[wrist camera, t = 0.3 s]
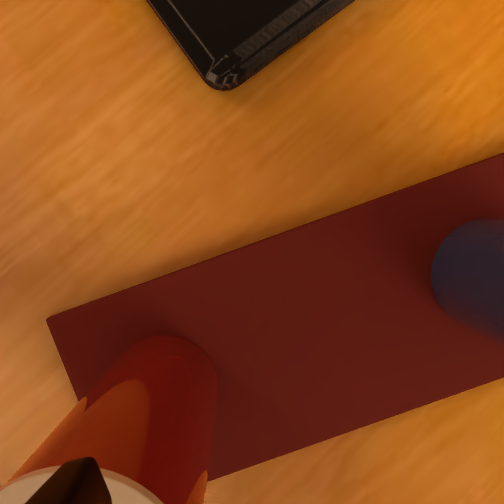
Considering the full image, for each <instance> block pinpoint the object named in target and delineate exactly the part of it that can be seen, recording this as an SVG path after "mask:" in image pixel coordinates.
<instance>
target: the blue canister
mask: <svg viewBox="0 0 504 504" xmlns="http://www.w3.org/2000/svg"><path fill="white" fill-rule="evenodd" d="M431 282H432V288H433V292H434V295H435V298H436V300H437V302H438V303H439V305H440V307H441V308H442V309H443V311H444V312H445V313H446V314H447V315H448V316H449V317H451V318H452V319H453V320H455V321H456V322H458V323H460V324H461V325H463V326H465V327H467V328H469V329H471V330H473V331H475V332H477V333H479V334H481V335H483V336H485V337H486V338H488V339H490V340H492V341H494V342H496V343H498V344H500V345H502V346H504V218H483V219H477V220H473V221H470V222H467V223H465V224H463V225H461V226H459V227H458V228H456V229H455V230H454V231H452V232H451V233H450V234H449V235H448V236H447V237H446V238H445V239H444V241H443V242H442V243H441V245H440V247H439V248H438V250H437V252H436V254H435V257H434V260H433V264H432V269H431Z"/></svg>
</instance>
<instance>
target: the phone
mask: <svg viewBox="0 0 504 504" xmlns="http://www.w3.org/2000/svg"><path fill="white" fill-rule="evenodd" d="M353 1H354V0H147V2H148V3H149V5H150V6H151V7H152V9H153V10H154V12H155V13H156V14H157V16H158V17H159V19H160V20H161V21H162V23H163V24H164V26H165V27H166V28H167V30H168V31H169V33H170V34H171V35H172V37H173V38H174V40H175V41H176V42H177V44H178V45H179V47H180V48H181V49H182V51H183V52H184V54H185V55H186V56H187V58H188V59H189V61H190V62H191V64H192V65H193V66H194V68H195V69H196V71H197V72H198V73H199V75H200V76H201V78H202V79H203V80H204V81H205V82H206V83H207V84H208V85H209V86H210V87H212V88H214V89H217V90H223V91H225V90H232V89H234V88H236V87H237V86H239V85H241V84H242V83H243V82H245V81H246V80H247V79H249V78H250V77H251V76H253V75H254V74H255V73H257V72H258V71H260V70H261V69H262V68H264V67H265V66H266V65H268V64H269V63H270V62H272V61H273V60H274V59H276V58H277V57H278V56H280V55H281V54H283V53H284V52H285V51H287V50H288V49H289V48H291V47H292V46H293V45H295V44H296V43H297V42H299V41H300V40H302V39H303V38H304V37H306V36H307V35H308V34H310V33H311V32H313V31H314V30H315V29H316V28H318V27H319V26H320V25H322V24H323V23H325V22H326V21H327V20H329V19H330V18H331V17H333V16H334V15H335V14H337V13H338V12H339V11H341V10H342V9H343V8H345V7H346V6H348V5H349V4H350V3H352V2H353Z"/></svg>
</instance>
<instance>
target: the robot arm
mask: <svg viewBox="0 0 504 504" xmlns="http://www.w3.org/2000/svg"><path fill="white" fill-rule="evenodd" d="M25 504H112V499H111V495H110V492H109V490H108V487H107V485H106V483H105V480H104V478H103V475H102V473H101V470H100V468H99V466H98V463H97V462H96V460H95V459H94V458H93V457H90V456H88V457H83V458H79V459H74V460H70V461H67V462H65V463H64V464H63V465H61V466H60V467H59V469H58V470H57V471H56V472H55V473H54V474H53V475H52V476H51V477H50V478H49V479H48V480H47V481H46V482H45V483H44V484H43V485H42V486H41V487H40V488H39V489H38V490H37V491H36V492H35V493H34V494H33V495H32V496H31V497H30V498H29V500H28V501H27V502H26V503H25Z"/></svg>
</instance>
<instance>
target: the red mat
mask: <svg viewBox="0 0 504 504" xmlns="http://www.w3.org/2000/svg"><path fill="white" fill-rule="evenodd" d="M483 218H504V153H501V154H499V155H496V156H493V157H490V158H488V159H485V160H482V161H479V162H477V163H474V164H471V165H468V166H465V167H463V168H460V169H457V170H454V171H452V172H449V173H446V174H443V175H441V176H438V177H435V178H432V179H429V180H427V181H424V182H421V183H418V184H416V185H413V186H410V187H407V188H405V189H402V190H399V191H396V192H394V193H391V194H388V195H385V196H382V197H380V198H377V199H374V200H371V201H369V202H366V203H363V204H360V205H358V206H355V207H352V208H349V209H346V210H344V211H341V212H338V213H335V214H333V215H330V216H327V217H324V218H322V219H319V220H316V221H313V222H310V223H308V224H305V225H302V226H299V227H297V228H294V229H291V230H288V231H286V232H283V233H280V234H277V235H274V236H272V237H269V238H266V239H263V240H261V241H258V242H255V243H252V244H250V245H247V246H244V247H241V248H239V249H236V250H233V251H230V252H227V253H225V254H222V255H219V256H216V257H214V258H211V259H208V260H205V261H203V262H200V263H197V264H194V265H191V266H189V267H186V268H183V269H180V270H178V271H175V272H172V273H169V274H167V275H164V276H161V277H158V278H155V279H153V280H150V281H147V282H144V283H142V284H139V285H136V286H133V287H131V288H128V289H125V290H122V291H119V292H117V293H114V294H111V295H108V296H106V297H103V298H100V299H97V300H95V301H92V302H89V303H86V304H84V305H81V306H78V307H75V308H72V309H70V310H67V311H64V312H61V313H59V314H56V315H53V316H50V317H49V318H47V319H46V322H47V324H48V327H49V329H50V332H51V334H52V337H53V339H54V342H55V344H56V346H57V349H58V351H59V354H60V356H61V359H62V361H63V364H64V366H65V369H66V371H67V374H68V376H69V379H70V381H71V384H72V386H73V388H74V391H75V393H76V396H77V398H78V401H80V400H81V399H82V398H83V397H84V396H85V394H86V393H87V392H88V391H89V390H90V389H91V388H92V387H93V385H94V384H95V383H96V382H97V381H98V380H99V379H100V378H101V376H102V375H103V374H104V373H105V372H106V371H107V370H108V369H109V367H110V366H111V365H112V364H113V363H114V362H115V361H116V360H117V358H118V357H119V356H120V355H121V354H122V353H123V352H124V351H125V350H126V349H127V348H128V347H129V346H131V345H132V344H134V343H135V342H137V341H139V340H141V339H144V338H146V337H150V336H155V335H173V336H178V337H181V338H184V339H187V340H189V341H191V342H193V343H194V344H196V345H197V346H199V347H200V348H201V349H202V350H203V351H204V352H205V353H206V354H207V355H208V356H209V358H210V359H211V360H212V362H213V364H214V366H215V368H216V370H217V373H218V377H219V382H220V396H219V403H218V410H217V416H216V423H215V430H214V436H213V443H212V450H211V456H210V463H209V470H208V476H207V482H208V481H211V480H214V479H216V478H219V477H222V476H225V475H228V474H231V473H233V472H236V471H239V470H242V469H245V468H248V467H250V466H253V465H256V464H259V463H262V462H265V461H267V460H270V459H273V458H276V457H279V456H282V455H285V454H287V453H290V452H293V451H296V450H299V449H302V448H304V447H307V446H310V445H313V444H316V443H319V442H321V441H324V440H327V439H330V438H333V437H336V436H338V435H341V434H344V433H347V432H350V431H353V430H355V429H358V428H361V427H364V426H367V425H370V424H372V423H375V422H378V421H381V420H384V419H387V418H390V417H392V416H395V415H398V414H401V413H404V412H407V411H409V410H412V409H415V408H418V407H421V406H424V405H426V404H429V403H432V402H435V401H438V400H441V399H443V398H446V397H449V396H452V395H455V394H458V393H460V392H463V391H466V390H469V389H472V388H475V387H477V386H480V385H483V384H486V383H489V382H492V381H494V380H497V379H500V378H503V377H504V346H502V345H500V344H498V343H496V342H494V341H492V340H490V339H488V338H486V337H485V336H483V335H481V334H479V333H477V332H475V331H473V330H471V329H469V328H467V327H465V326H463V325H461V324H460V323H458V322H456V321H455V320H453V319H452V318H451V317H449V316H448V315H447V314H446V313H445V312H444V311H443V309H442V308H441V307H440V305H439V303H438V302H437V300H436V298H435V295H434V292H433V288H432V282H431V269H432V264H433V260H434V257H435V254H436V252H437V250H438V248H439V247H440V245H441V243H442V242H443V241H444V239H445V238H446V237H447V236H448V235H449V234H450V233H451V232H452V231H454V230H455V229H456V228H458V227H459V226H461V225H463V224H465V223H467V222H470V221H473V220H477V219H483Z"/></svg>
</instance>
